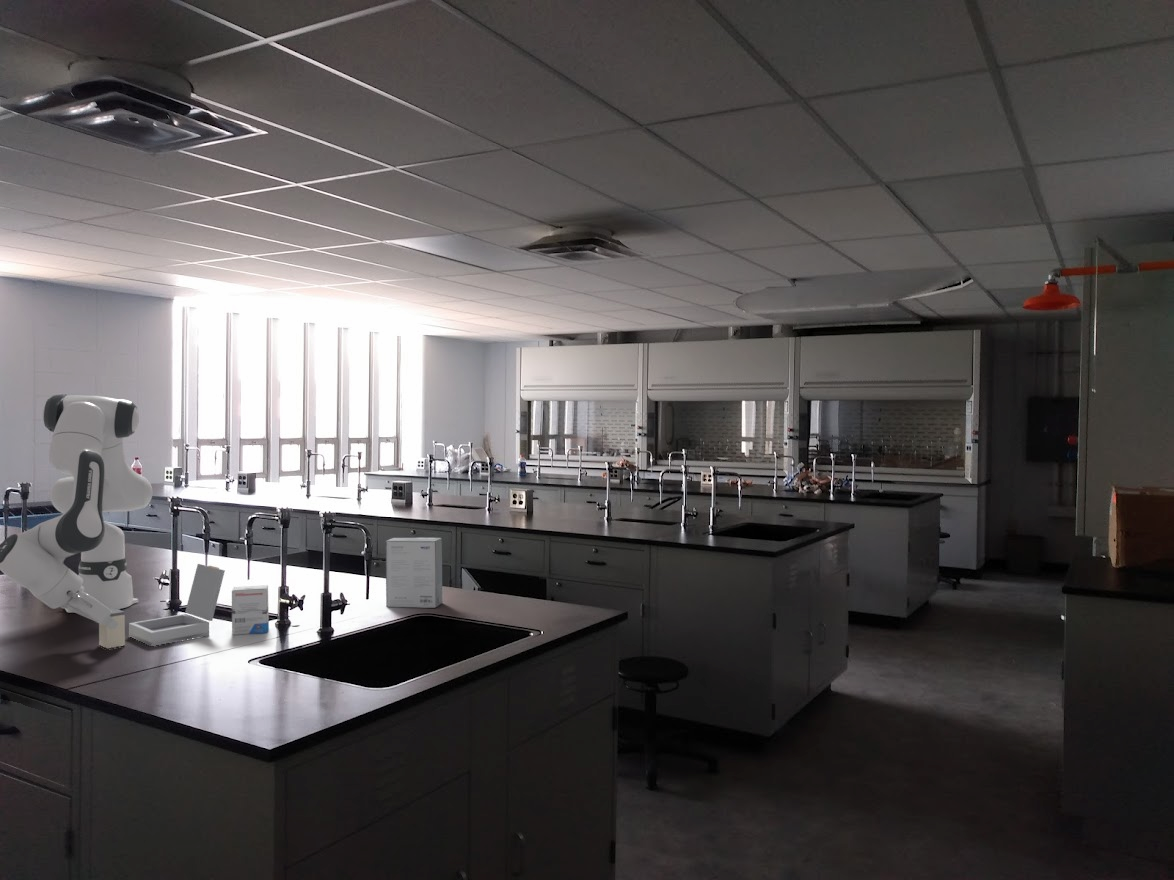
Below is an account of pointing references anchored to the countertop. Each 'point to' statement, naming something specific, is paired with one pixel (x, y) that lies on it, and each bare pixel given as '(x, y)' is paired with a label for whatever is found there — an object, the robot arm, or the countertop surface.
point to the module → (113, 631)
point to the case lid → (205, 591)
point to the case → (168, 629)
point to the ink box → (250, 610)
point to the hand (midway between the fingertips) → (107, 623)
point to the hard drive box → (414, 572)
